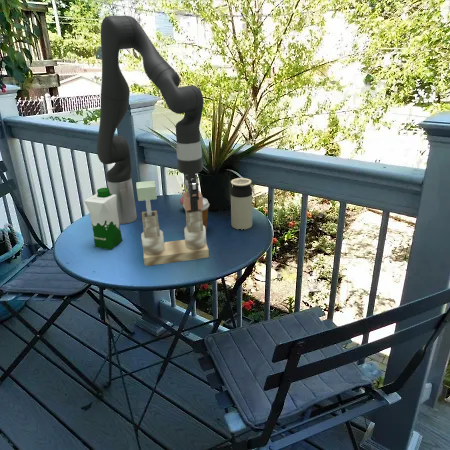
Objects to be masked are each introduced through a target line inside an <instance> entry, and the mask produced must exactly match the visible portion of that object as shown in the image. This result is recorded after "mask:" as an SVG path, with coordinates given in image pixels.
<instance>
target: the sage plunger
mask: <svg viewBox="0 0 450 450" xmlns="http://www.w3.org/2000/svg"><path fill="white" fill-rule="evenodd" d="M135 183H136V184H135V185H136V186H135V187H136V194H137V200H138V201H137V202H141V201H142V202H143V201H145V207H146V212H147V216H152V212H151V211H152V204H151V201H152V200H157V199H158V197H157V196H158V195H157V188H156V187H157V186H156V182H155V180H146V181H139V182H138V181H137V182H135Z"/></svg>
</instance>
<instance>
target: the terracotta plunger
mask: <svg viewBox="0 0 450 450" xmlns="http://www.w3.org/2000/svg"><path fill="white" fill-rule="evenodd" d="M182 196H183V204H184V207H185V209H184V211H185V210H186V211H187V210H191V204H190V199H189V198H190V196H189V193H188V192H185V191H183V192H182ZM192 196H196V194H193V195H192ZM203 198H204V197H203V194H202V193H201V191H200V190H199V200H198V209H203ZM184 207H183V208H184Z"/></svg>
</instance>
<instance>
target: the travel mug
mask: <svg viewBox="0 0 450 450" xmlns="http://www.w3.org/2000/svg"><path fill="white" fill-rule="evenodd" d="M230 184H231V188H230V216H231V217H230V219H231V221H230V223H231V227H232V228H234V229H235V230H239V229H241V230H243V229H244V230H248V229H250V228H252V226H253V188H252V186H251V184H252V180H251V179H250V178H247V177H237V178H234V179H231V180H230Z"/></svg>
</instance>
